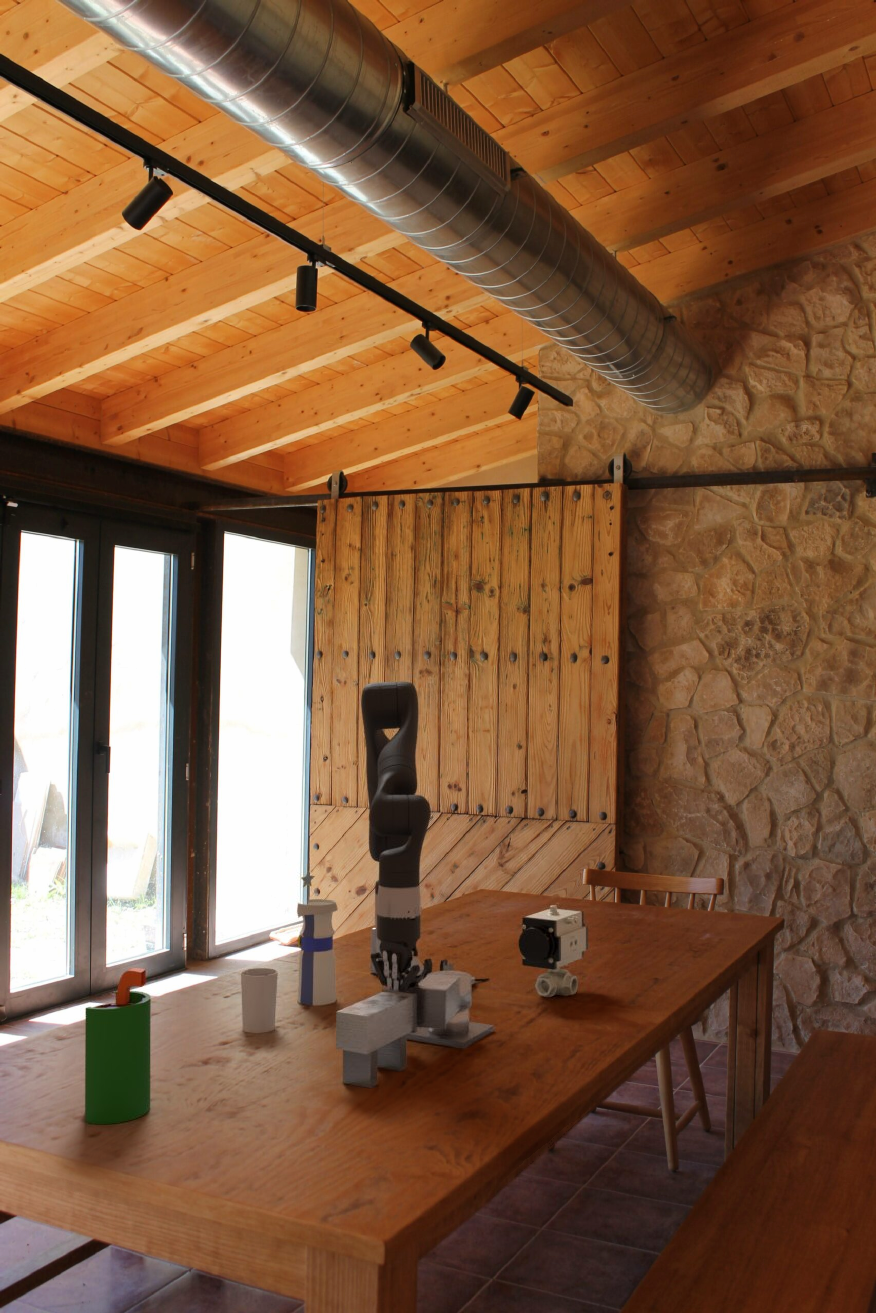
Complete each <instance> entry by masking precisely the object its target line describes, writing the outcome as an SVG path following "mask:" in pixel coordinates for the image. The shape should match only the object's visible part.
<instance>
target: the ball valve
mask: <svg viewBox="0 0 876 1313" xmlns="http://www.w3.org/2000/svg"><path fill="white" fill-rule="evenodd" d="M584 914H585V913H584V910H578V909H577V910H576V909H566V908H561V907H558V906H557V905H556V904H554V905H553V904H552V905H550V907H549V909H548V908H547V909H544V910H543V911H539V912H536V913H532V914H529V915H526V916H523V917H522V918H521V919H522V920H521V921H522V923H521V925H522V926H521V928H522V929H521V931H522V933H521V934H520V936H519V939H518V948H519V952H520V954H521V955H522V956H521V958H522V962H521V963H522V966H524V967H532V968H538V969H539V968H540V969H545V970H548V971H546V972H544V973H542V974H540V975H539V976H538V977H537V978H536V982H535V984H534V987H535V990H536V991H537V994H538V995H539V996H543V997H544V998H551V997H553V996H555V995H557V996H563V997H568V996H572V995H574V994H576V992H577V991H578V986H579V982H578V977H577V976H576V975H573V974H571V973H570V972H569V970H568V969H565V968H562V967H568V966H569V964H570V963H573V962H576V961H578V960H581V959H582V958H584V957H585V955H584V953H585V951H588V950H589V944H588V943H589V927H588V925H586V923H585V921H584V918H585V917H584Z"/></svg>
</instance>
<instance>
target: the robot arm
mask: <svg viewBox="0 0 876 1313" xmlns="http://www.w3.org/2000/svg"><path fill="white" fill-rule="evenodd" d="M360 699H361V700H360V707H361V718H362V723H363V724H362V725H363V731H364V739H365V750H366V751H365V752H366V754H365V755H366V756H365V757H366V761H365V762H366V766H365V767H366V787H367V788H366V789H367V798H368V807H369V808H368V809H369V813H368V850H369V854H370V857H371V859H372V860H373V861H374V862H377V863H378V879H377V880H376V882H375V885H374V927H373V928H371V930H370V973H372V974H376V975H377V977H378V980H379V982H380V984H381V986H385V987H386V989H392V990H399V991H406V992H409V988H410V987H415V986H416V985H417V984H418V983H420V980H421V978H422V977H423V975H424V973H425V972H426V970H427V965H426V964H425V963H424V962H423V963H421V961H420V959H419V958H418V956H419V951H418V948H417V942H418V941H419V940H420V939H421V926H422V924H421V922H422V921H421V918H422V917H421V916H422V914H421V913H422V910H421V908H422V906H421V905H422V902H421V901H422V898H421V889H420V887H421V886H420V878H421V877H420V874H421V873H420V872H421V871H420V869H421V867H420V866H421V864H420V863H421V855H422V849H423V845H424V840H425V837H426V834H427V832H428V828H429V824H430V821H431V815H432V814H431V813H432V812H431V810H432V809H431V805H430V802H429V801H428V800H427V798H426V797H424V796H423V795H420V794H416V793H417V791H418V790H417V789H418V775H417V774H418V773H417V765H416V764H417V763H416V761H417V760H416V753H417V751H416V750H417V742H418V731H419V696H418V692H417V689H416V686H415V685H414V684H413V683H412V682H411V681H404V680H403V681H382V682H380V681H379V682H377V681H376V682H372V683H367V684H365V686H364V687H363V689H362V692H361V698H360ZM393 729H395V730H397V729H398V730H397V732H396V733H395V734H394V735H393V737H391V738H389V737H388V735H386V733H385V731H384V730H393ZM402 980H403V983H402Z"/></svg>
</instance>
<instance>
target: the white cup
mask: <svg viewBox="0 0 876 1313" xmlns="http://www.w3.org/2000/svg"><path fill="white" fill-rule="evenodd" d="M278 973H279V972H278V970H277V969H275V968H270V967H256V968H255V967H254V968H247V969H243V970H242V971H241V972H240V980H241V981H240V982H241V983H240V986H241V989H240V990H241V1012H242V1013H241V1015H242V1016H241V1018H242V1020H241V1022H242V1031H243V1032H247V1033H251V1034H252V1033H253V1034H260V1033H261V1034H262V1033H268V1032H272V1031H273V1030H275V1026H276V1009H277V993H278V992H277V991H278Z"/></svg>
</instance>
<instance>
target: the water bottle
mask: <svg viewBox="0 0 876 1313" xmlns="http://www.w3.org/2000/svg"><path fill="white" fill-rule="evenodd" d="M300 878H301V880H302V881H303V885H302V888H305V887H306V886H309V887H312V880H313V879H314V878H315V875H311V874H310V872H309V870H307V872H306V875H304V876H301V877H300ZM337 911H338V904H337V901H336V900H333V899H332V900H331V899H322V898H320V899H319V898H313V899H308V900H307V904H304V903H303V904H302V903H299V902H297V908H296V913H297V914H296V915H297V917H298V919H299V918H300V917H302V921H303V923H302V927H301V929H300V931H299V935H298V937H297V945H298V948H299V949H300V951H299V956H298V980H297V981H298V982H297V997H296V998H297V999H296V1000H297V1001H296V1002H297V1003H299V1004H301V1005H304V1006H324V1005H325V1006H327V1005H331V1004H333V1003H336V1001H337V991H336V989H337V988H336V956H335V955H336V954H335V950H334V940H333V939H334V938H333V937H334V935H335V933H336V931H335V930H334V928H333V923H332V922H333V914H334V913H335V912H337Z"/></svg>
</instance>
